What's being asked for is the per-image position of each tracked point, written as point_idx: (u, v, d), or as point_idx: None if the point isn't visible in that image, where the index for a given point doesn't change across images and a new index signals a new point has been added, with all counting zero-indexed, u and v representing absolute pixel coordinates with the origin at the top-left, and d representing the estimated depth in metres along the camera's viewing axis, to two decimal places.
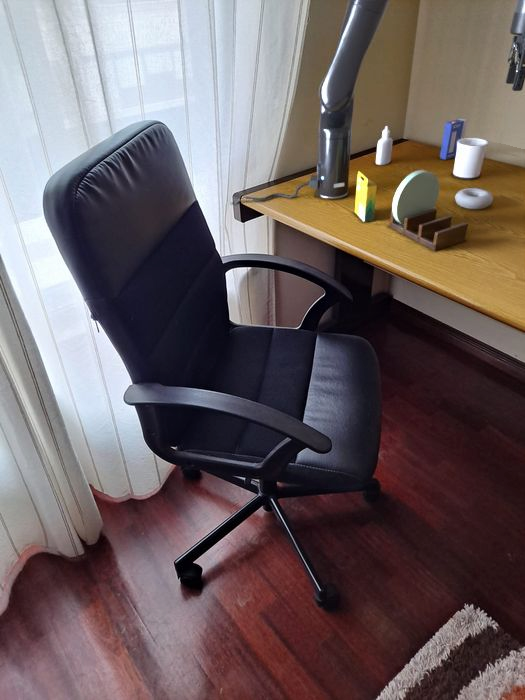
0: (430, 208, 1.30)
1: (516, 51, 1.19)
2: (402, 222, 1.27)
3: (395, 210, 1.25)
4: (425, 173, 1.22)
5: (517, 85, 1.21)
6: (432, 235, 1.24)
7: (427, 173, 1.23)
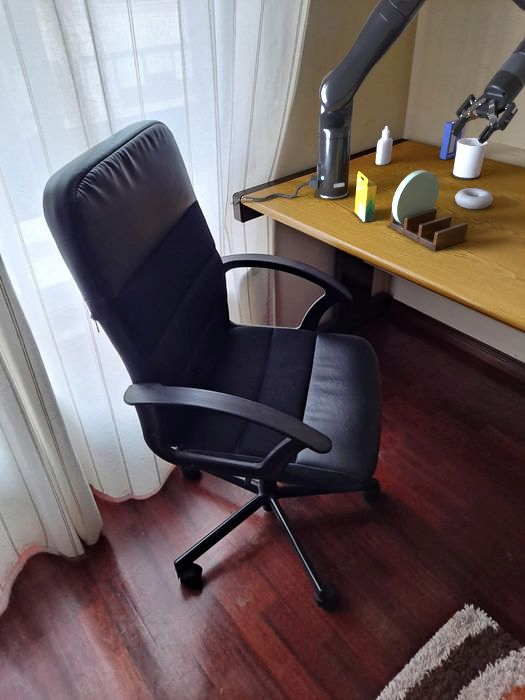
0: (430, 208, 1.30)
1: (492, 106, 1.19)
2: (402, 222, 1.27)
3: (395, 210, 1.25)
4: (425, 173, 1.22)
5: (486, 137, 1.20)
6: (432, 235, 1.24)
7: (427, 173, 1.23)
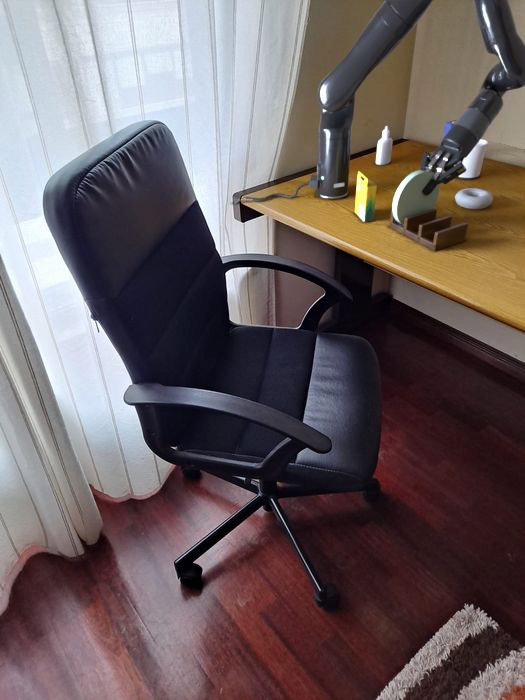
0: (430, 208, 1.30)
1: (445, 159, 1.22)
2: (402, 221, 1.27)
3: (395, 210, 1.25)
4: (425, 173, 1.22)
5: (429, 189, 1.24)
6: (432, 235, 1.24)
7: (427, 173, 1.23)
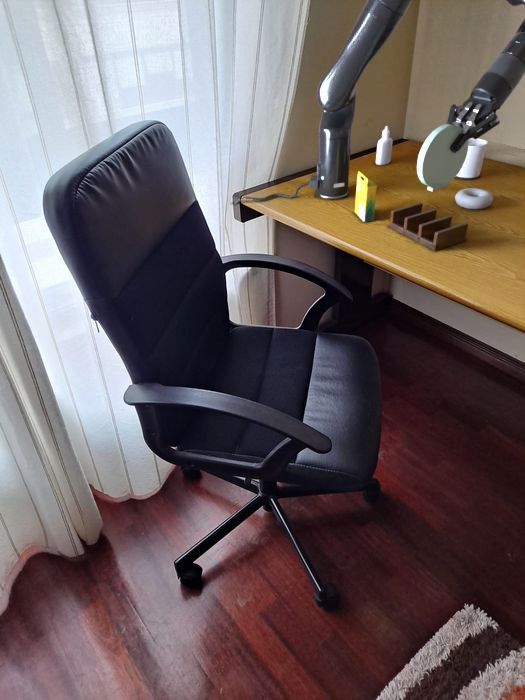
0: (458, 168, 1.18)
1: (476, 111, 1.11)
2: (427, 182, 1.16)
3: (420, 169, 1.13)
4: (454, 126, 1.11)
5: (458, 145, 1.12)
6: (432, 235, 1.24)
7: (456, 127, 1.11)
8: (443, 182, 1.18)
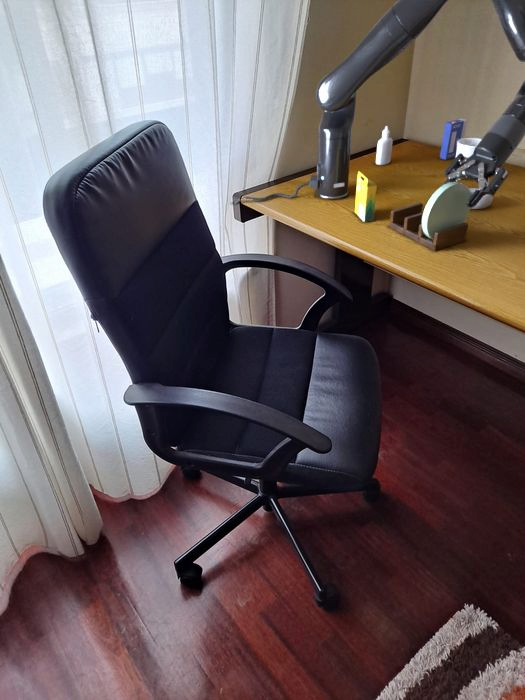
0: (461, 221, 1.22)
1: (482, 169, 1.14)
2: (432, 236, 1.20)
3: (425, 224, 1.17)
4: (458, 185, 1.15)
5: (475, 201, 1.14)
6: None
7: (460, 185, 1.15)
8: None
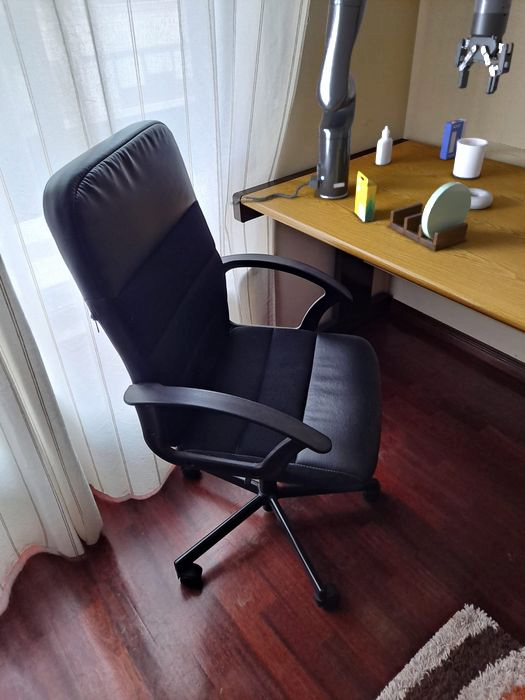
0: (461, 221, 1.22)
1: (485, 53, 1.12)
2: (432, 236, 1.20)
3: (425, 224, 1.17)
4: (458, 185, 1.15)
5: (493, 88, 1.15)
6: None
7: (460, 185, 1.15)
8: None
